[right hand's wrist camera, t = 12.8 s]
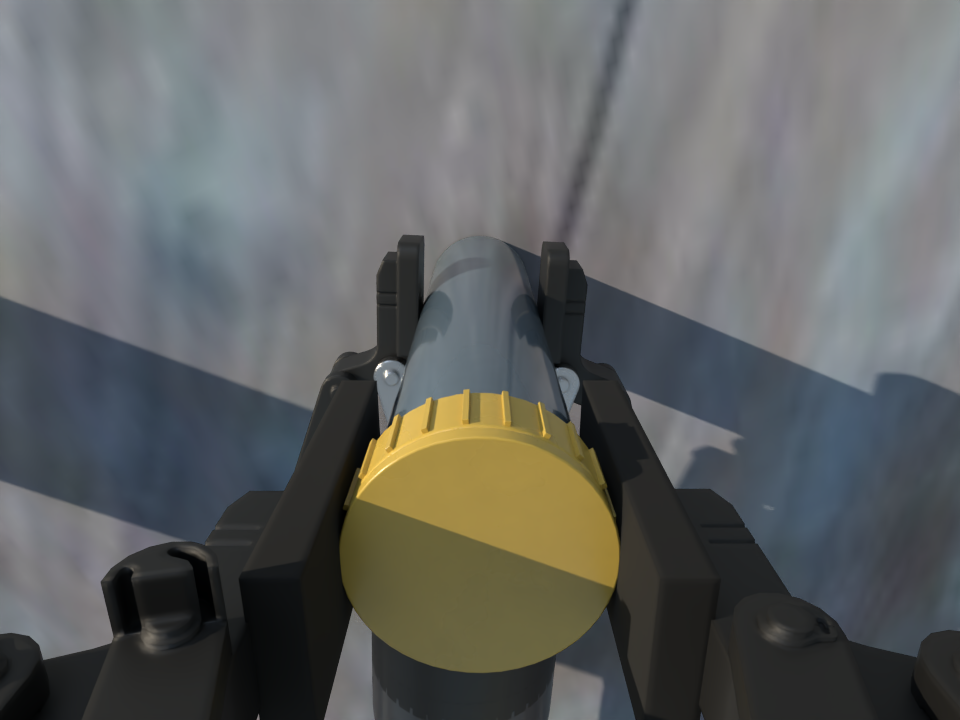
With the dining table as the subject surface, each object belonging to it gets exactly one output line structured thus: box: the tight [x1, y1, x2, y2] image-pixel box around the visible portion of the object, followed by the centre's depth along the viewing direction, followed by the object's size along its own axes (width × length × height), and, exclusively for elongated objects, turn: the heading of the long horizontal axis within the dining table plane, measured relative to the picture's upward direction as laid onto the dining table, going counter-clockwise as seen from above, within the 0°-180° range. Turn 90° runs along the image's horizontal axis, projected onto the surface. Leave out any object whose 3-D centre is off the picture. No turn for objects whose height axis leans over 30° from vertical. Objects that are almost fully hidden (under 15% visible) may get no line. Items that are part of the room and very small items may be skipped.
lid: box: [339, 389, 620, 673], centre depth 11 cm, size 5×5×2 cm
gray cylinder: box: [386, 236, 571, 429], centre depth 20 cm, size 4×4×18 cm
